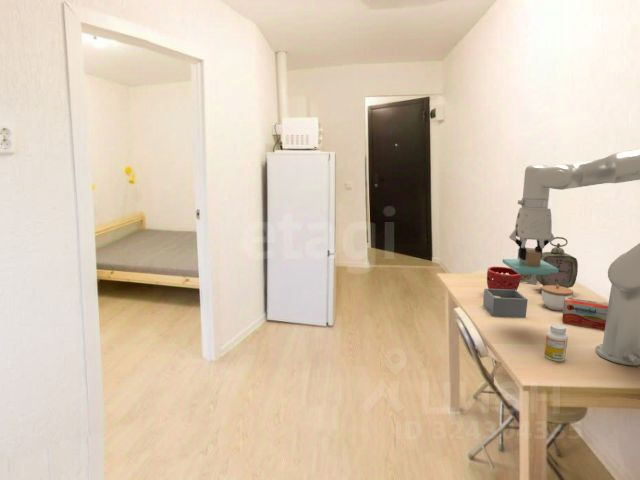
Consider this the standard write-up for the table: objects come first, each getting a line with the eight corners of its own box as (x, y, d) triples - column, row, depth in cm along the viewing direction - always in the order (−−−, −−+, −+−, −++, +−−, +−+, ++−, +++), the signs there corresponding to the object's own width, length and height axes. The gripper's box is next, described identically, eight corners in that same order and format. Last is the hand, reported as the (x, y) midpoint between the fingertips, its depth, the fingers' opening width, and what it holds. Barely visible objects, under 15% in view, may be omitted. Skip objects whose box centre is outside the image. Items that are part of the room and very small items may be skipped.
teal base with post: (557, 276, 134) (560, 255, 133) (515, 275, 135) (516, 253, 134) (541, 266, 147) (543, 247, 146) (502, 265, 148) (503, 246, 147)
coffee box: (537, 281, 205) (540, 248, 202) (535, 284, 200) (539, 251, 197) (516, 278, 210) (520, 246, 207) (514, 281, 205) (518, 248, 202)
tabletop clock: (538, 294, 185) (544, 238, 180) (531, 288, 194) (537, 234, 189) (574, 296, 182) (581, 239, 178) (566, 290, 191) (573, 235, 187)
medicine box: (610, 324, 152) (613, 303, 150) (612, 332, 145) (616, 310, 143) (561, 316, 159) (564, 296, 157) (562, 323, 152) (564, 302, 150)
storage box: (525, 317, 157) (527, 299, 155) (492, 316, 158) (493, 298, 157) (514, 306, 168) (515, 289, 167) (483, 305, 170) (484, 288, 168)
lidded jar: (575, 313, 162) (578, 289, 160) (544, 311, 164) (547, 287, 162) (564, 304, 172) (567, 282, 171) (536, 302, 174) (539, 280, 173)
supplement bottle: (551, 352, 128) (555, 321, 127) (569, 359, 124) (573, 327, 122) (540, 355, 126) (543, 324, 124) (557, 363, 121) (561, 331, 119)
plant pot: (486, 300, 176) (488, 272, 174) (484, 291, 188) (486, 265, 186) (520, 303, 172) (523, 275, 170) (516, 294, 185) (518, 267, 182)
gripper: (511, 204, 134) (507, 261, 137) (567, 205, 133) (561, 262, 136) (504, 202, 142) (499, 256, 145) (556, 203, 140) (551, 257, 143)
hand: (529, 258), depth 140 cm, fingers closed on teal base with post, 4 cm apart
